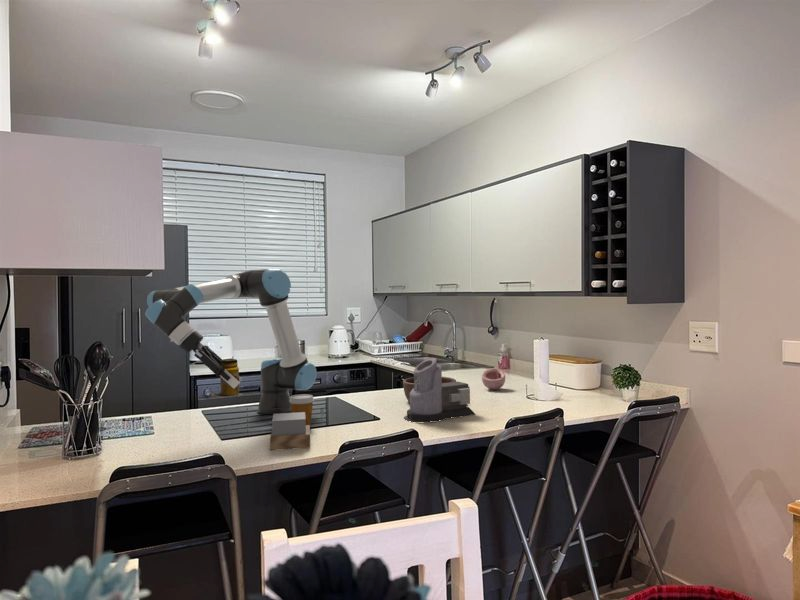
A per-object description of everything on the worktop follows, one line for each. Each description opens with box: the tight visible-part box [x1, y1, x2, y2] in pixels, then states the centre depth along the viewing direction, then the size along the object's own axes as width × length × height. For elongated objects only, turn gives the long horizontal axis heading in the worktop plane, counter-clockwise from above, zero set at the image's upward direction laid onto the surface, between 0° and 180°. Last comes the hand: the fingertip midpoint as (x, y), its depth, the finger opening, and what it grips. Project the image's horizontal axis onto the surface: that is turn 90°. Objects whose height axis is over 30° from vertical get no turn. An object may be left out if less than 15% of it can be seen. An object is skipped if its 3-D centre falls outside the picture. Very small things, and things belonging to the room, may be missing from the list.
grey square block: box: [271, 412, 306, 436], centre depth 190 cm, size 11×11×5 cm
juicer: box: [403, 357, 476, 423], centre depth 228 cm, size 30×16×24 cm, turn 118°
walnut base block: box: [269, 425, 311, 450], centre depth 190 cm, size 13×13×5 cm
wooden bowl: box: [402, 376, 457, 403], centre depth 258 cm, size 25×25×10 cm
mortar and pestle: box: [481, 367, 506, 391], centre depth 286 cm, size 12×12×12 cm
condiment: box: [211, 358, 244, 399], centre depth 187 cm, size 7×8×12 cm
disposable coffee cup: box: [289, 393, 315, 426], centre depth 213 cm, size 10×10×12 cm
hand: (238, 383), depth 188 cm, fingers closed on condiment, 6 cm apart
